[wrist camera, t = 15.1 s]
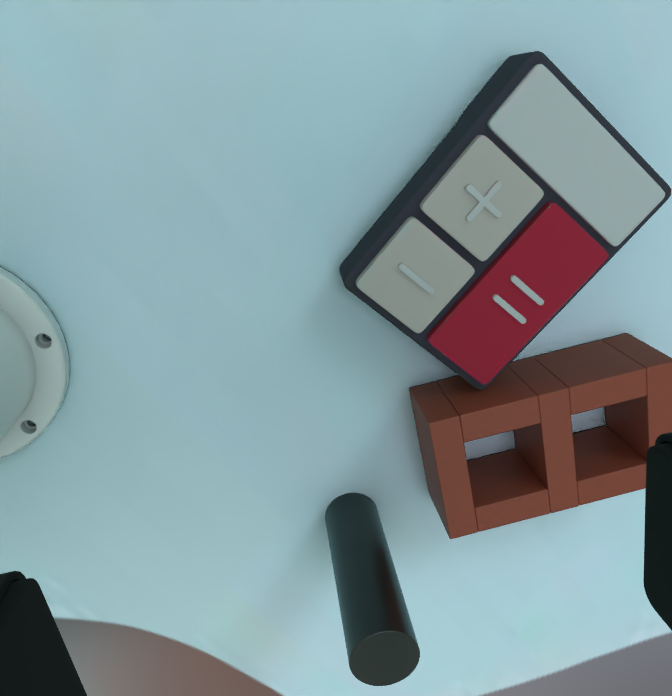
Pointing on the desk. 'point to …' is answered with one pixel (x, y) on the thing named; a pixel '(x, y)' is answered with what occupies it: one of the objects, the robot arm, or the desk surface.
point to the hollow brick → (543, 432)
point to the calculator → (504, 221)
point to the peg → (369, 594)
